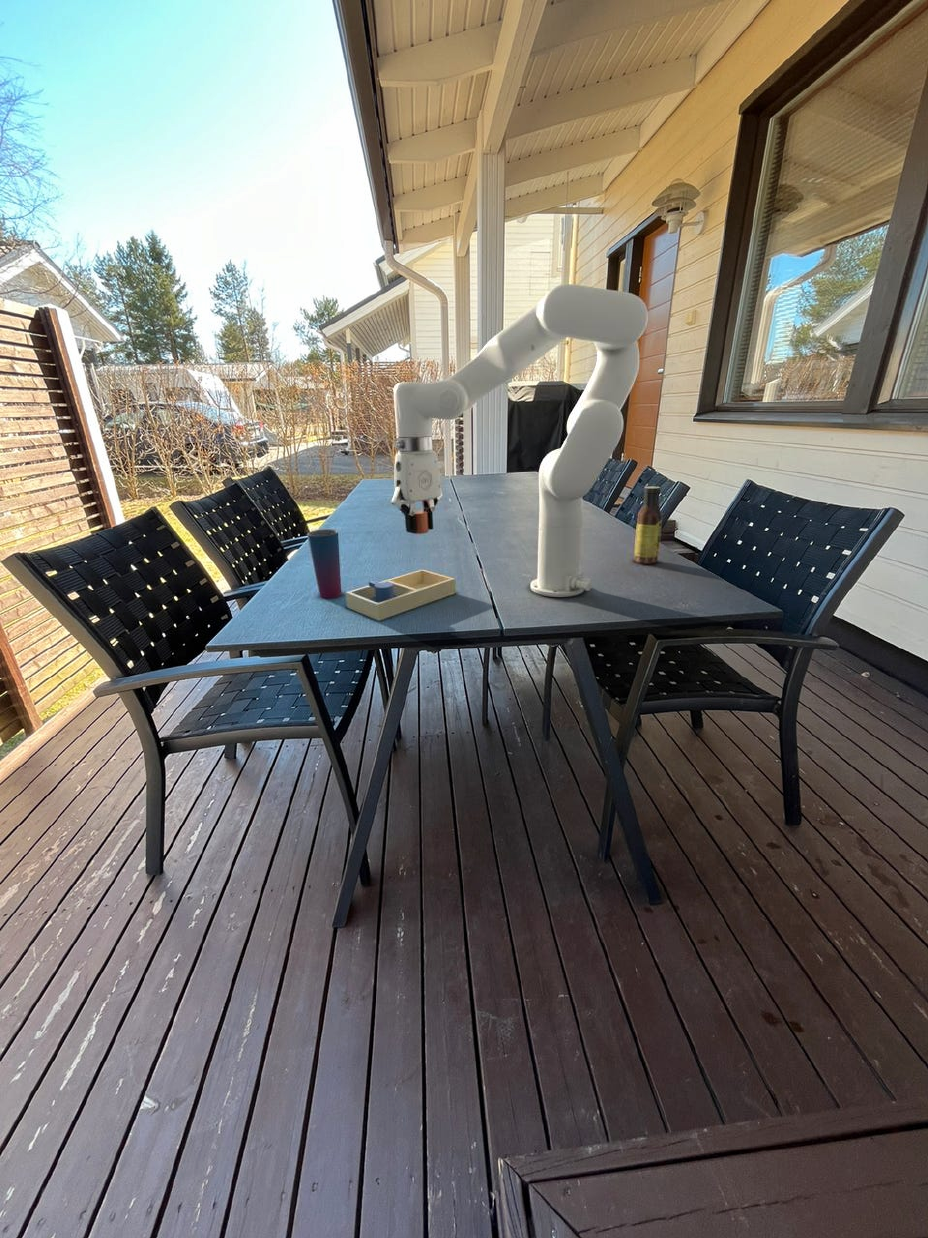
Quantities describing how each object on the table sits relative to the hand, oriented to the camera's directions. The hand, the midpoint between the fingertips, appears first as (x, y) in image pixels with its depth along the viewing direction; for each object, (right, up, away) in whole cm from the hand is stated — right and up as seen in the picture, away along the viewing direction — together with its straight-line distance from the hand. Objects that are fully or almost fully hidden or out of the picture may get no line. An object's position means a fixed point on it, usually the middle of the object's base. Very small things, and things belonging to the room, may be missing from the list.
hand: (419, 529), depth 119 cm
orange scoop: (-1, 0, +1) cm, 1 cm away
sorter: (-4, -16, +1) cm, 16 cm away
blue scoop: (-8, -17, -2) cm, 19 cm away
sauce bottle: (+60, -5, +24) cm, 65 cm away
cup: (-22, -15, +6) cm, 27 cm away
